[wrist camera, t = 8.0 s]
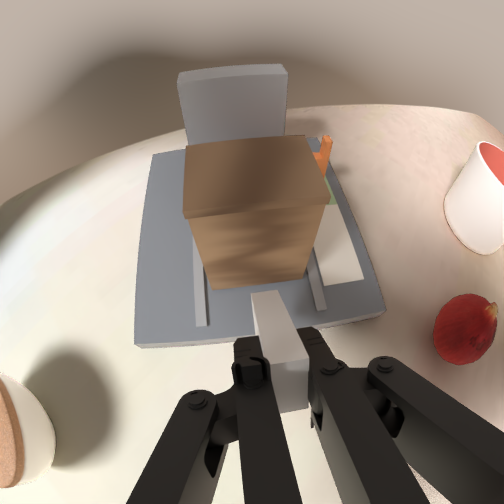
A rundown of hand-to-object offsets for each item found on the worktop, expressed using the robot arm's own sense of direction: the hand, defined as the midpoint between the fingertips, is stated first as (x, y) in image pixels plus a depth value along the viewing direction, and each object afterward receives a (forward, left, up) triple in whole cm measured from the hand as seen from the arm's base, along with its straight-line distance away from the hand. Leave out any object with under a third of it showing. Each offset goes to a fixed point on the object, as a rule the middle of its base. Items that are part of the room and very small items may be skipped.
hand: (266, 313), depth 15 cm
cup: (+28, +8, -6) cm, 30 cm away
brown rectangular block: (0, +6, -4) cm, 8 cm away
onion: (+16, -4, -6) cm, 18 cm away
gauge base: (0, +11, -6) cm, 13 cm away
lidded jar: (-23, -9, -6) cm, 26 cm away
